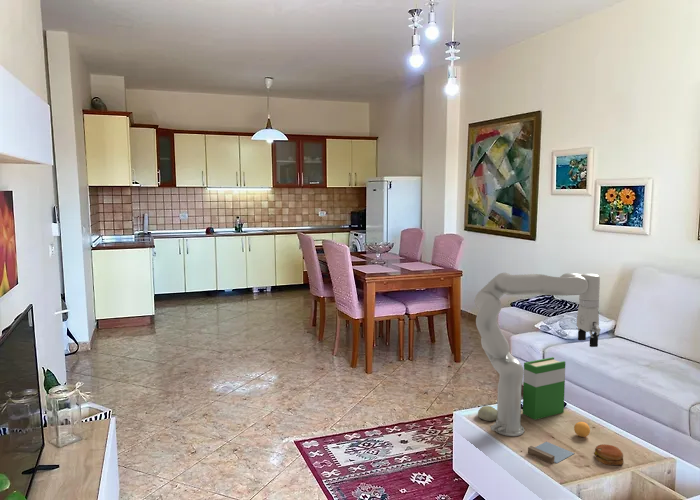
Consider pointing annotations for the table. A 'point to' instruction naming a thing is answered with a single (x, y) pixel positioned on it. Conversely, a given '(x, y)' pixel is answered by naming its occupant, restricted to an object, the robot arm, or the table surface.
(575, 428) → the ball
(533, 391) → the hardback book
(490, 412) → the sea urchin shell
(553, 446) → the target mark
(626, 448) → the table surface
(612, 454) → the burger
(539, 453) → the stopper wall
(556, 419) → the table surface
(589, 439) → the table surface
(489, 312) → the robot arm
